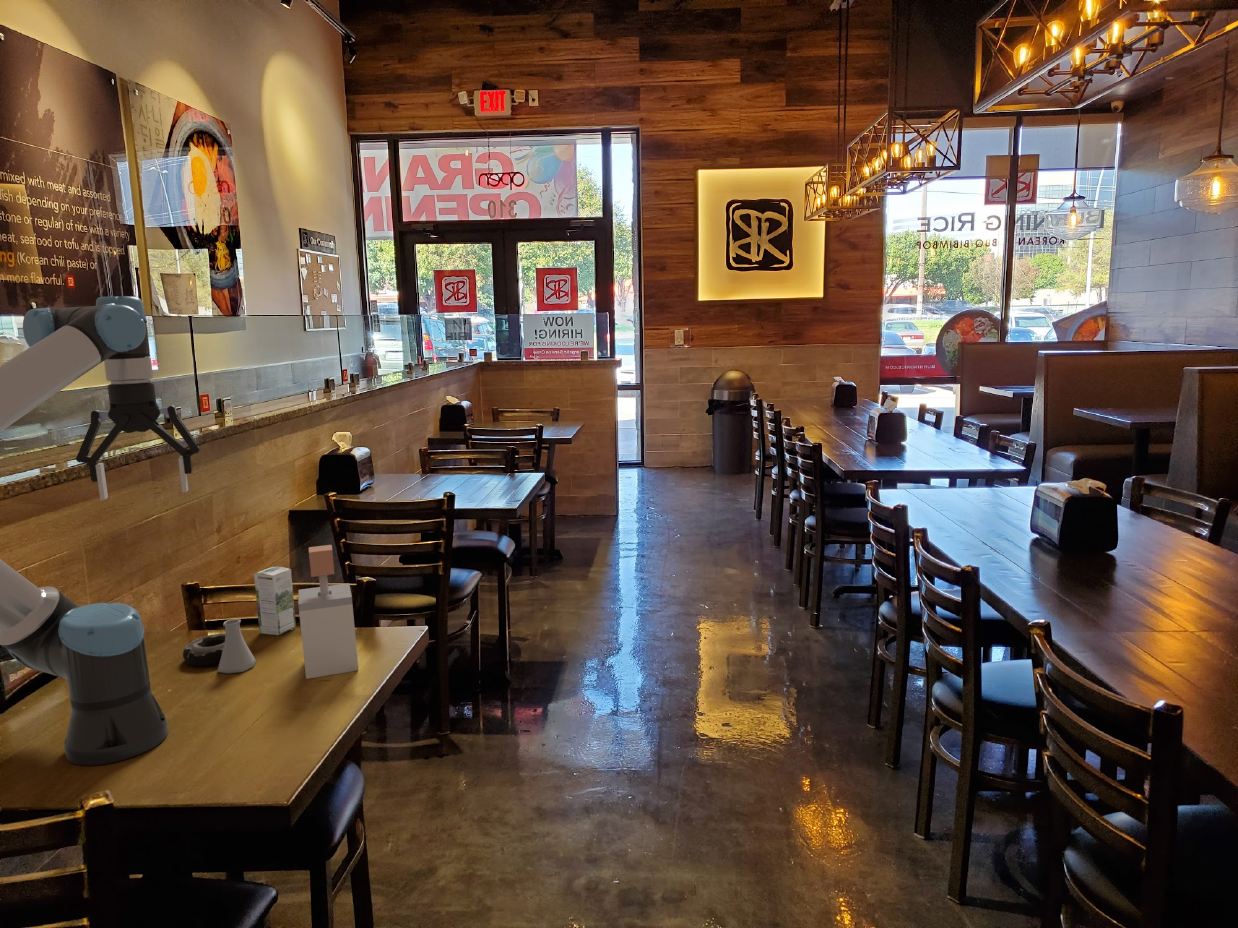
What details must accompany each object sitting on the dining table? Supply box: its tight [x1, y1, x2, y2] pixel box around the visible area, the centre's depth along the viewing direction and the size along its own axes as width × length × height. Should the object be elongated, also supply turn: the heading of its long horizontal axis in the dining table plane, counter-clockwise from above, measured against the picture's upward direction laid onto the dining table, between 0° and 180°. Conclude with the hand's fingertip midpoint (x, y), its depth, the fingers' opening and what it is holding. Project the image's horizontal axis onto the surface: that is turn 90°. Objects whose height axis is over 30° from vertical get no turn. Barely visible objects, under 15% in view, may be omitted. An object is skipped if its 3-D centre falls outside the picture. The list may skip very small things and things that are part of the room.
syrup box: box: [253, 566, 297, 636], centre depth 196 cm, size 6×6×14 cm
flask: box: [217, 618, 257, 674], centre depth 176 cm, size 7×7×10 cm
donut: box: [182, 633, 226, 667], centre depth 182 cm, size 12×12×4 cm
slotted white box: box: [297, 582, 359, 680], centre depth 174 cm, size 10×10×16 cm
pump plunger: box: [308, 544, 336, 596], centre depth 173 cm, size 4×4×20 cm
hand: (145, 494), depth 161 cm, fingers open, 13 cm apart
